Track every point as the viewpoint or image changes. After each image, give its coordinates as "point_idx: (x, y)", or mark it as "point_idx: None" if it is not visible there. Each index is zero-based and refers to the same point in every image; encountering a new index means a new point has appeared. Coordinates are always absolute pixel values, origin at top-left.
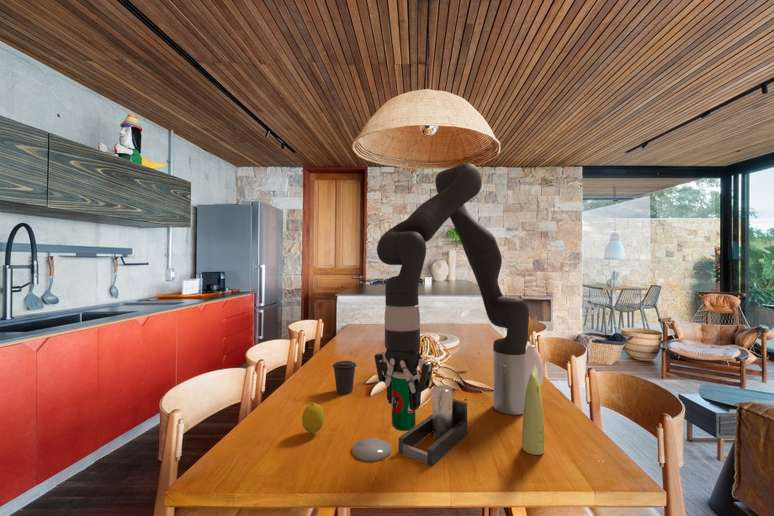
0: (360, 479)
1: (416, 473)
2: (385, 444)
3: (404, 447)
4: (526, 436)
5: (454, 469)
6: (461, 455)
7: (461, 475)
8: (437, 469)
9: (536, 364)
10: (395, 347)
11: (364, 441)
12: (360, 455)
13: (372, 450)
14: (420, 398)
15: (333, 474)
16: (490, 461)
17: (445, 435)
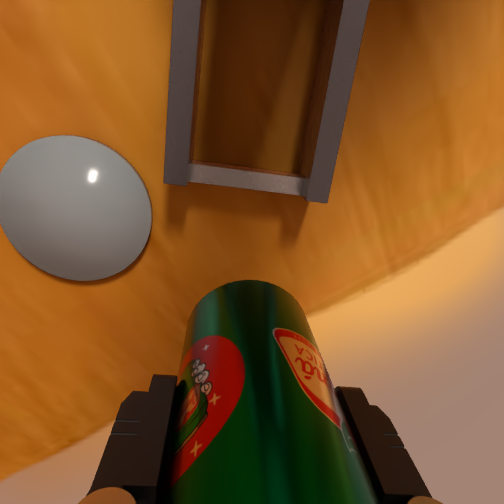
0: (154, 348)
1: (280, 249)
2: (102, 162)
3: (198, 182)
4: None
5: (383, 169)
6: (390, 64)
7: (409, 189)
8: (332, 197)
9: None
10: None
11: (15, 185)
12: (77, 273)
13: (89, 226)
14: (406, 450)
15: (75, 367)
16: (496, 50)
17: (344, 49)
